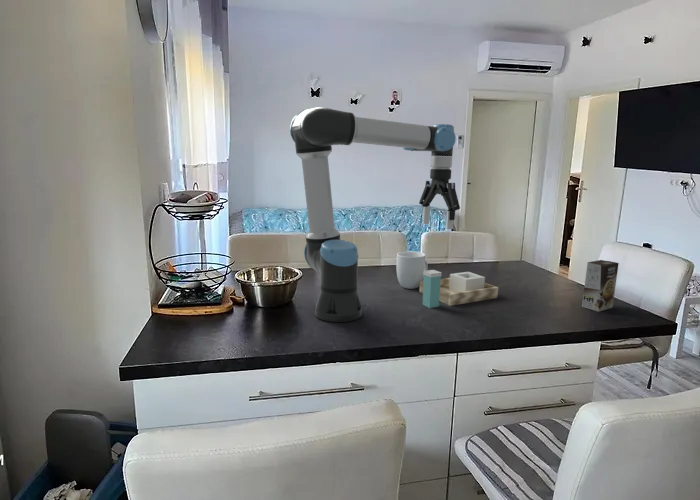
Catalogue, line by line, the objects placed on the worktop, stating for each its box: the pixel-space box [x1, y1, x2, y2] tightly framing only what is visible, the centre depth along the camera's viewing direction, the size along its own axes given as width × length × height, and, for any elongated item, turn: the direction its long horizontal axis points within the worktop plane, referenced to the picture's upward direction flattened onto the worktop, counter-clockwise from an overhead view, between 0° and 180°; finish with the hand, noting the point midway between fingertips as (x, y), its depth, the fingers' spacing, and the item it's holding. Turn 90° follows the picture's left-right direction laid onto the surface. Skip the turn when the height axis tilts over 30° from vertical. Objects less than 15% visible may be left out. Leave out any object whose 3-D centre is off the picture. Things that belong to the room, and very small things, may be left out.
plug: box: [422, 269, 442, 309], centre depth 162 cm, size 4×4×12 cm
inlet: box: [449, 271, 486, 293], centre depth 177 cm, size 9×9×6 cm
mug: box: [395, 251, 429, 290], centre depth 186 cm, size 15×11×13 cm
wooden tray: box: [419, 277, 499, 307], centre depth 176 cm, size 22×18×4 cm
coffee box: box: [581, 259, 620, 313], centre depth 163 cm, size 9×6×16 cm
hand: (437, 226), depth 176 cm, fingers open, 13 cm apart
